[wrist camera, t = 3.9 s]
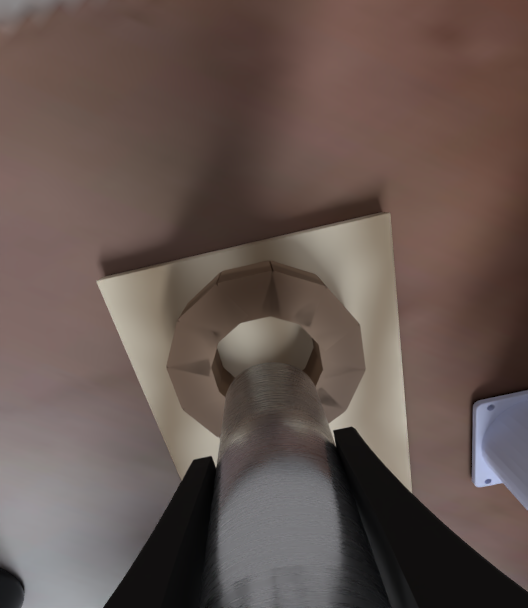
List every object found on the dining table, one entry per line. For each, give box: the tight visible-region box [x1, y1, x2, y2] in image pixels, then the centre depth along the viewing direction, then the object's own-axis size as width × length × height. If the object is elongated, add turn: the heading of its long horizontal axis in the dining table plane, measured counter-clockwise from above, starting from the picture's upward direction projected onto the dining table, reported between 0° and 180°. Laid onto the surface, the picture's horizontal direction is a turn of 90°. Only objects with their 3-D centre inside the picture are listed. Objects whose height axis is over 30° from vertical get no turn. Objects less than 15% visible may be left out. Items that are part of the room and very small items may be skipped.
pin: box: [198, 362, 392, 608], centre depth 9 cm, size 4×4×8 cm
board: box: [97, 212, 412, 493], centre depth 19 cm, size 16×24×4 cm, turn 12°
